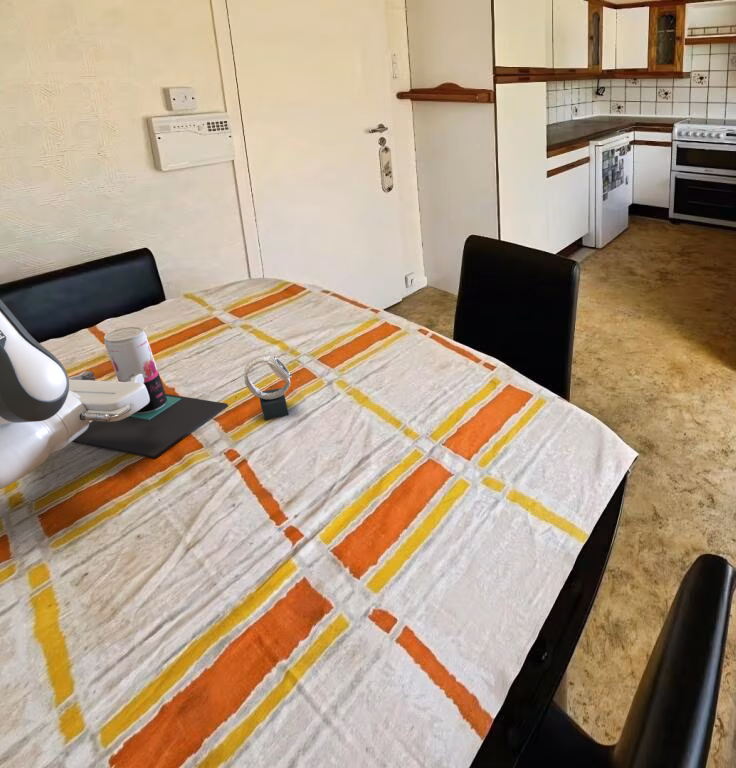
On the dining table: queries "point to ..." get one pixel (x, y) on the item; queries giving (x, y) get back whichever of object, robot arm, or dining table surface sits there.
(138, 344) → the beverage can
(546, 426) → the dining table surface
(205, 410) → the place mat
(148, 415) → the corner pad
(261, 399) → the watch
